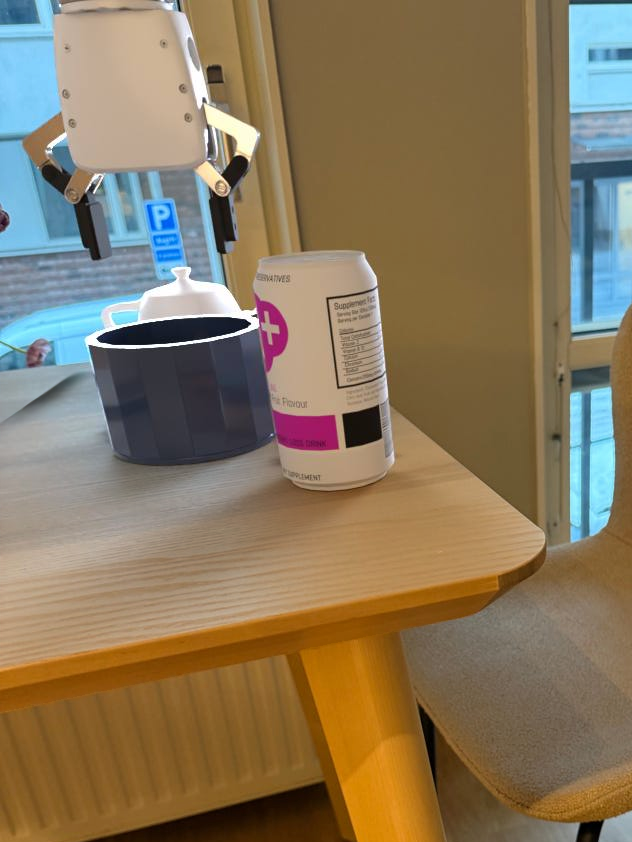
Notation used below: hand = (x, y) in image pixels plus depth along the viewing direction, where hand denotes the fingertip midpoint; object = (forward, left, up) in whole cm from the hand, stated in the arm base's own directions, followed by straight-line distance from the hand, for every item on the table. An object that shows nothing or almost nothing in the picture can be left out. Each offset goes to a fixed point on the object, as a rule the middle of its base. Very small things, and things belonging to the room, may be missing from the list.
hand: (164, 255), depth 73 cm
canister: (0, -1, -15) cm, 15 cm away
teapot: (-7, +33, -15) cm, 36 cm away
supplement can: (+13, -13, -15) cm, 23 cm away
